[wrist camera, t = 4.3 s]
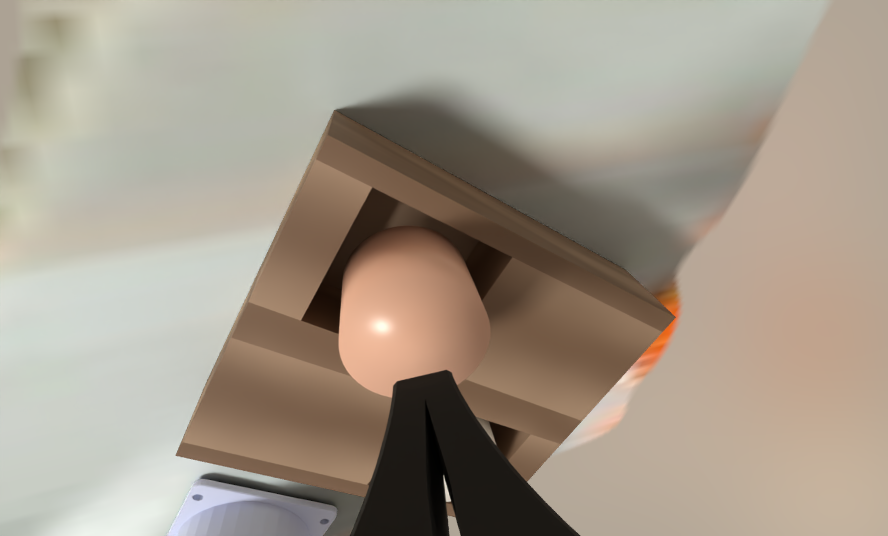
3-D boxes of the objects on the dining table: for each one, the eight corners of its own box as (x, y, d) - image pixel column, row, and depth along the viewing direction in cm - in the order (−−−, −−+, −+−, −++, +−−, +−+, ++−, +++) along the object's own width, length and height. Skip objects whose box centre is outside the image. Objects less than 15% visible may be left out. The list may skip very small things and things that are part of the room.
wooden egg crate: (471, 458, 27) (488, 524, 23) (205, 383, 21) (175, 455, 18) (625, 269, 22) (675, 317, 18) (334, 109, 16) (327, 134, 13)
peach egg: (428, 348, 18) (442, 414, 15) (321, 308, 16) (313, 373, 13) (490, 257, 16) (519, 311, 13) (378, 203, 15) (383, 250, 12)
